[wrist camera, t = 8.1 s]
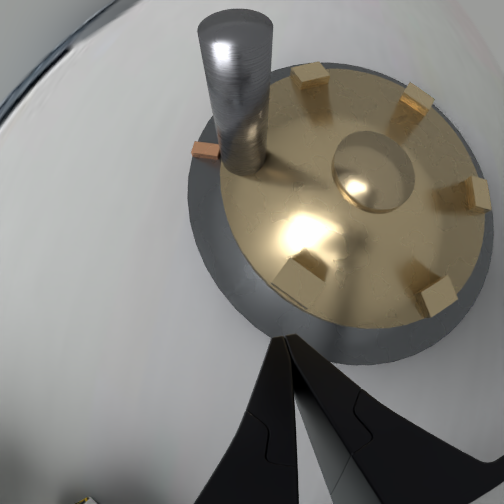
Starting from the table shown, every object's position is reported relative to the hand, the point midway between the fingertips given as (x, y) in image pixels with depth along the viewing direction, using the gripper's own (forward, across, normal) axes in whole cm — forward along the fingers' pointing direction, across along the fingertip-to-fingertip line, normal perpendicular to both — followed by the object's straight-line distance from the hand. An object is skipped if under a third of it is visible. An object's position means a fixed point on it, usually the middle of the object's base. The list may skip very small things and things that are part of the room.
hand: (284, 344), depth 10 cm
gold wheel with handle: (+14, +9, 0) cm, 16 cm away
